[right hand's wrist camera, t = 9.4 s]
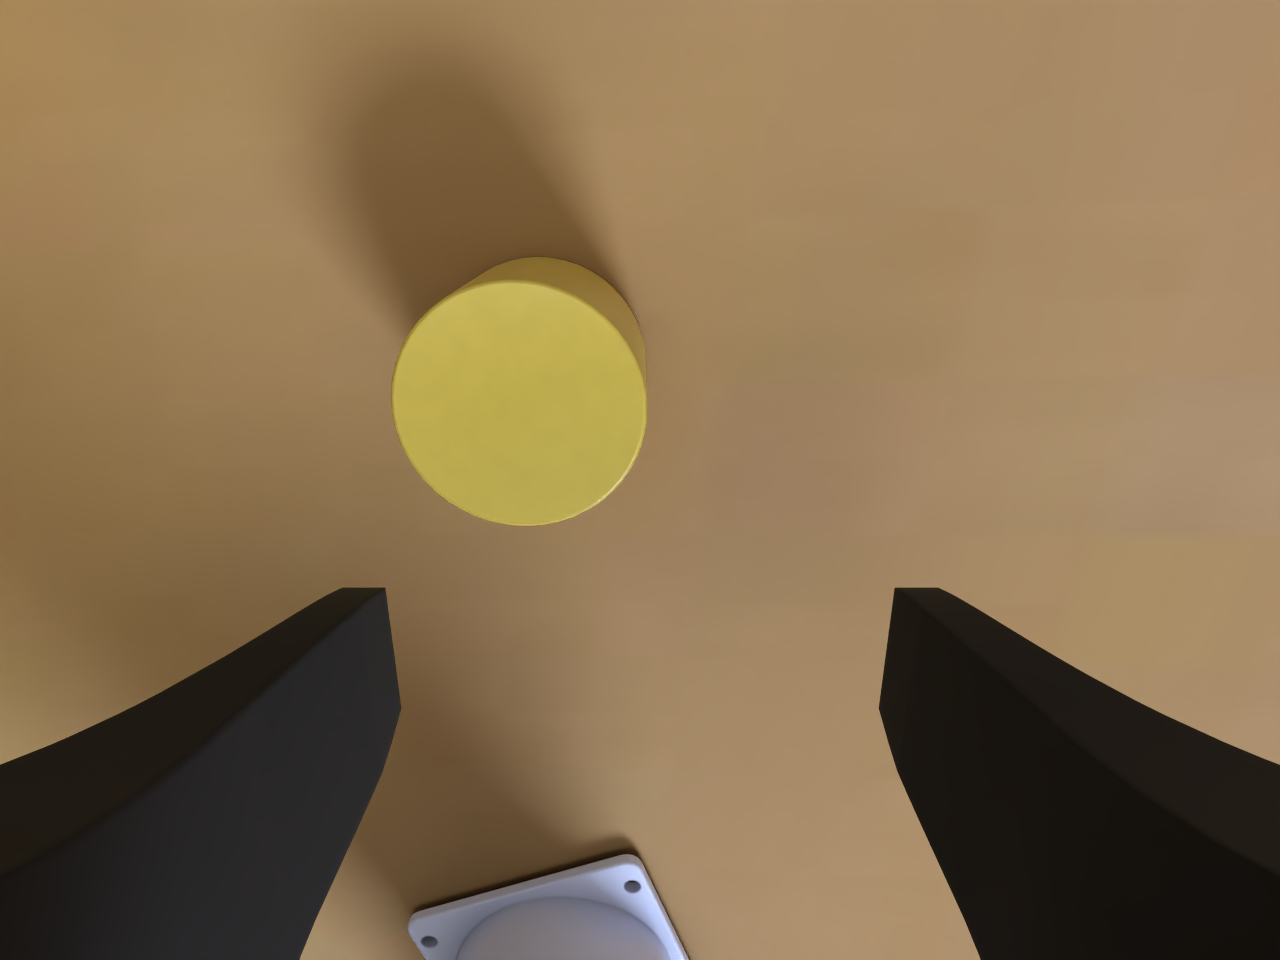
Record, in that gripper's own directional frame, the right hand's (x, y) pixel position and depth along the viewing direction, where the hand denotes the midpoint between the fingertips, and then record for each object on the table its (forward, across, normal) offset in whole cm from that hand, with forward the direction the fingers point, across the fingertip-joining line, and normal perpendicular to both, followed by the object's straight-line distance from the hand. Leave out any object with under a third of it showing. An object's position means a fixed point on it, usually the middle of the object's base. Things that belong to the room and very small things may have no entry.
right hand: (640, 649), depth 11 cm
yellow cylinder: (+9, +2, -2) cm, 10 cm away
